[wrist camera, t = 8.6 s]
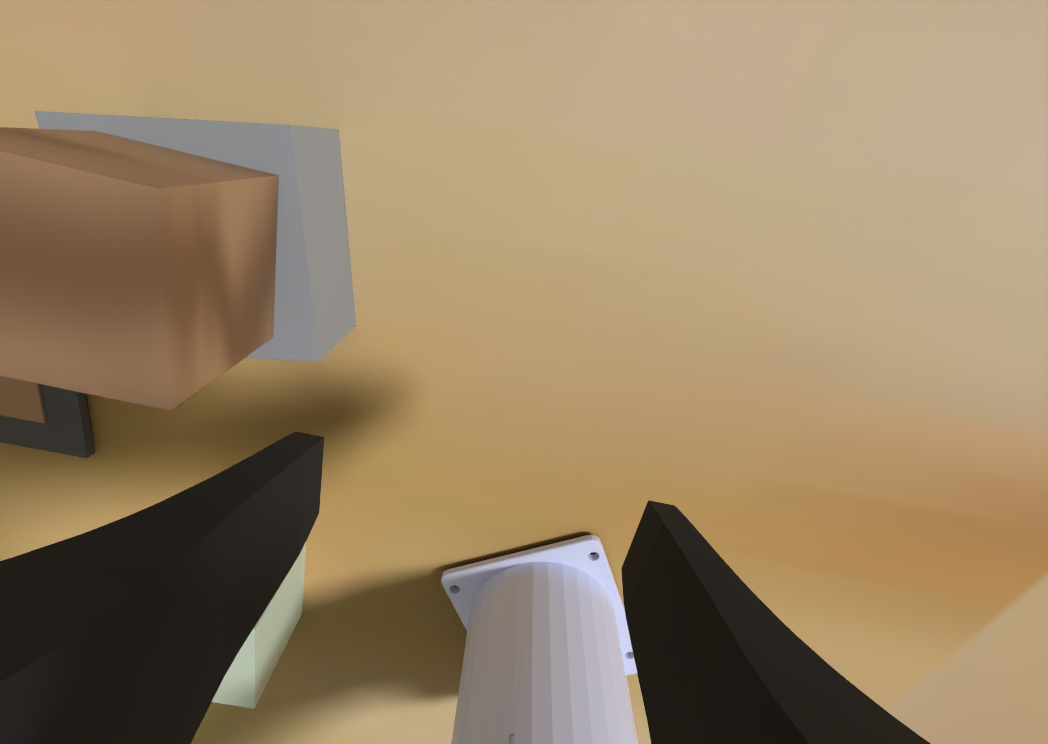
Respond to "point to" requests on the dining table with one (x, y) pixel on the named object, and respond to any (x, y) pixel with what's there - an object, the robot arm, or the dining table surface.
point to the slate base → (302, 221)
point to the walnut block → (130, 265)
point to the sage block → (265, 643)
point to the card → (44, 418)
